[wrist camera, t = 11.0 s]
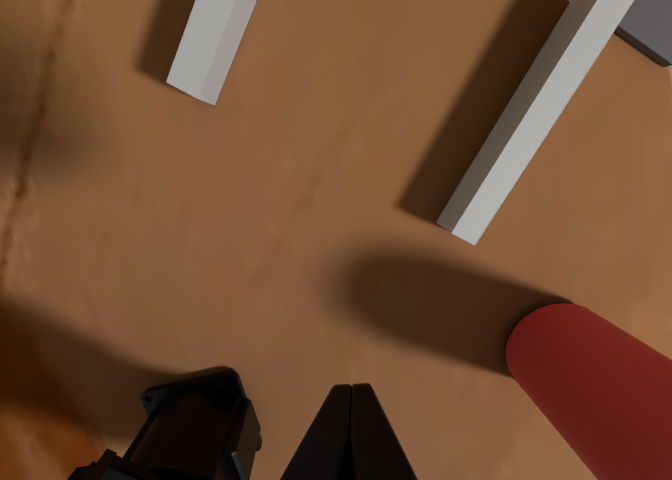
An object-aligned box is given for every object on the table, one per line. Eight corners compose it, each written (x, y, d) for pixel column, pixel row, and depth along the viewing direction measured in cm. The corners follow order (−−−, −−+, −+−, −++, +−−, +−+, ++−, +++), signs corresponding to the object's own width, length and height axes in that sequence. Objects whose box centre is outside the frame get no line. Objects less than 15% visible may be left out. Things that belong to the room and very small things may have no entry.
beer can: (486, 325, 22) (669, 526, 10) (581, 281, 21) (889, 442, 10) (518, 398, 24) (706, 639, 12) (607, 359, 23) (895, 574, 11)
